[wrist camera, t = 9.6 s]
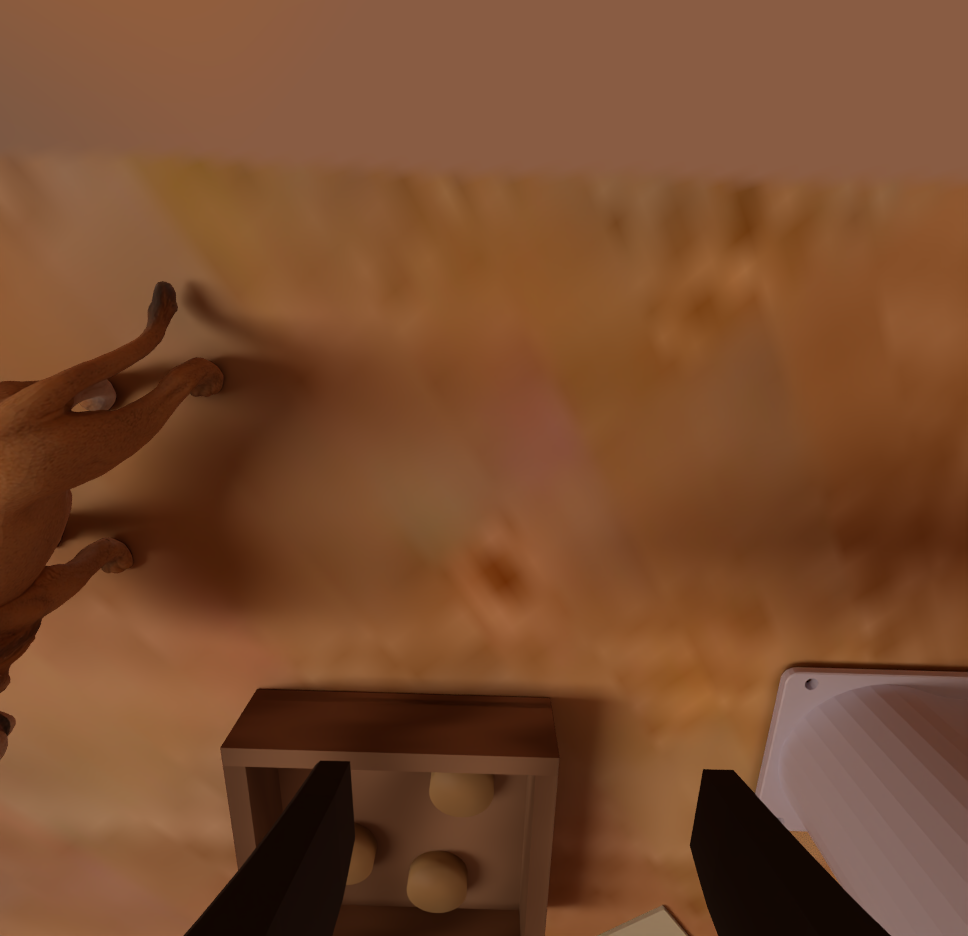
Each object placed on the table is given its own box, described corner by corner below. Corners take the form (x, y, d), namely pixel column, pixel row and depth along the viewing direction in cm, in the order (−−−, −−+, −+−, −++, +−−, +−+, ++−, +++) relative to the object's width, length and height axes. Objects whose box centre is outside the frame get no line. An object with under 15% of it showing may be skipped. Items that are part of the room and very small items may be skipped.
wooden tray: (550, 698, 21) (559, 757, 18) (534, 908, 25) (540, 987, 22) (256, 689, 21) (220, 747, 18) (281, 901, 25) (254, 978, 22)
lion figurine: (137, 659, 21) (-111, 900, 12) (5, 608, 20) (-354, 824, 12) (251, 318, 17) (7, 320, 8) (93, 243, 17) (-344, 163, 8)
